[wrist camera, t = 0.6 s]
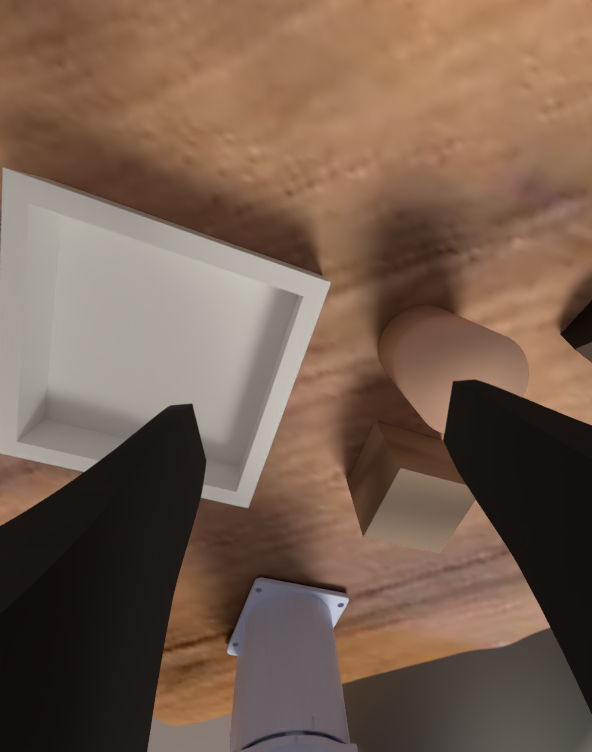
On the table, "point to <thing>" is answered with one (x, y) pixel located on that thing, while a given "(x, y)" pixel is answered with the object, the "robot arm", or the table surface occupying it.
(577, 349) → the pan flute
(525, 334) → the table surface
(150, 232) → the off-white tray
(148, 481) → the robot arm
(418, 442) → the walnut cube
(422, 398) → the beige rounded cylinder
